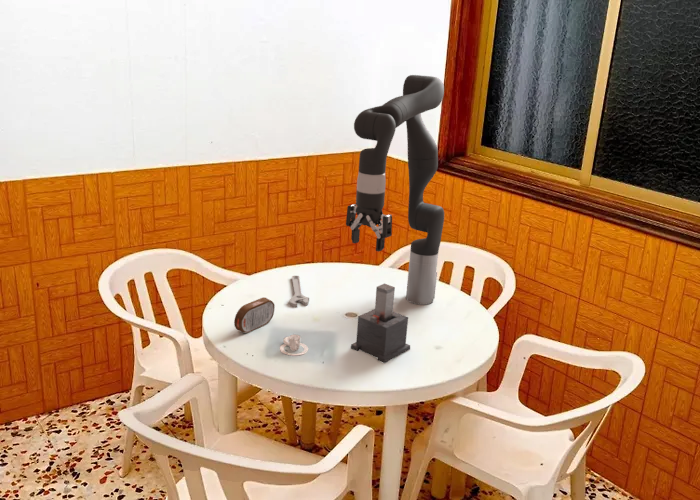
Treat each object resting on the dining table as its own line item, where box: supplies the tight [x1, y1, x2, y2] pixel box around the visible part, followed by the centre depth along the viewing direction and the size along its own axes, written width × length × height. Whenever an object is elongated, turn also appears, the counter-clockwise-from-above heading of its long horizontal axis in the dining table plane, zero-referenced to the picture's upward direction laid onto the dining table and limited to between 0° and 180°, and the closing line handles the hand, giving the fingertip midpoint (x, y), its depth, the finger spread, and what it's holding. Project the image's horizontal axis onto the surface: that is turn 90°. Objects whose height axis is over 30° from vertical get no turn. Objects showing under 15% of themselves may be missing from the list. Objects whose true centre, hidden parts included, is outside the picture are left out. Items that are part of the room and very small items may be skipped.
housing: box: [350, 308, 411, 364], centre depth 189 cm, size 12×12×11 cm
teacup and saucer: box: [279, 334, 309, 357], centre depth 188 cm, size 9×8×4 cm
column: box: [374, 283, 396, 322], centre depth 188 cm, size 4×4×19 cm
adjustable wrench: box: [288, 275, 310, 308], centre depth 226 cm, size 25×6×2 cm, turn 3°
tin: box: [233, 297, 276, 334], centre depth 197 cm, size 15×3×8 cm, turn 144°
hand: (367, 246), depth 182 cm, fingers open, 8 cm apart
